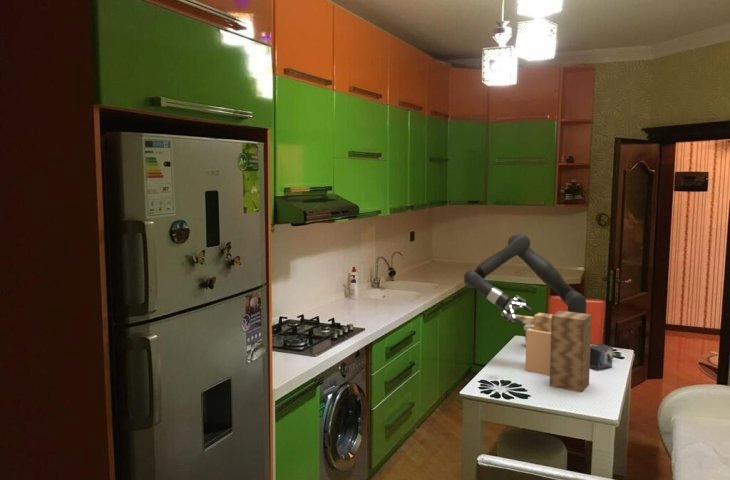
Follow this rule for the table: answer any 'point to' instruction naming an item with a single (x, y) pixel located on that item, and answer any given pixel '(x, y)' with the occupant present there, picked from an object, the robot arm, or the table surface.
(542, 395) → the table surface
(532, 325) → the disposable coffee cup
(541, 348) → the pedestal
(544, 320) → the mallet
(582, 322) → the walnut block
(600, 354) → the small box
